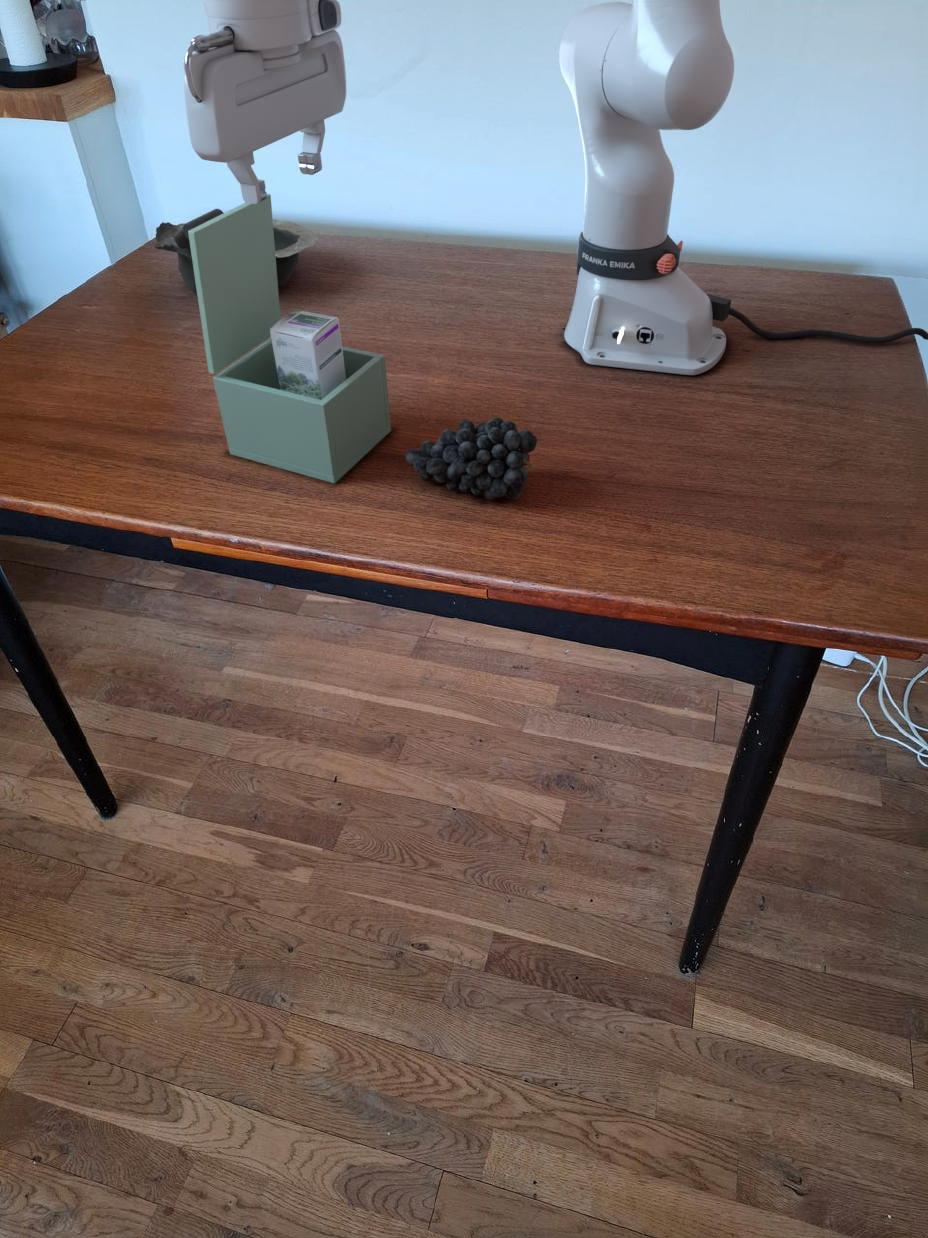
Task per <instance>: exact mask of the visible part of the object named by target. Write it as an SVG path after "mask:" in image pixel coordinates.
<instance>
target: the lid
mask: <svg viewBox="0 0 928 1238" xmlns="http://www.w3.org/2000/svg"><path fill="white" fill-rule="evenodd" d="M272 207H273V205H272V195H271V193H267V197H266V199H265V200H263V201H261V202H259V203H257V204H251V203H246V202H244V203H242V204H240V205H237V206H236V207H234V208H232V209H229V210H228V211H226V212H224V211H223V210H221V209H220V208H214V209H212V210H210V211H208V212H205V213H204V214H202V215H200V216H198V217H195V218H194V219H191V220H190V221H187V222H185V223H184V224H183V225H184V226H183V225H182V226H183V232H184V235H185V236H186V237H187V239H189V241H190V248H191V254H192V261H193V268H194V275H195V282H196V289H197V293H196V296H197V302H198V309H199V315H200V321H201V328H202V336H203V342H204V343H203V344H204V350H205V357H206V364H207V370H208V374H211V375H217V374H218V373H220V372H221V371H223V370H224V369H226V368H227V367H229V366H230V365H232V364H233V362H234V363H235V362H236V361H237V360H239V358H242V357H243V356H245V355H246V354H248V353H249V352H251V351H252V350H254V349H255V348H257V347H258V346H260V345H261V344H263V343H264V342H265V341H267V340H268V339H270V338H271V335H270V328H272V327H273V326H274V325H275V324H276V323H277V322H278V321H279V320H281V309H280V297H279V295H280V294H279V287H278V282H277V269H276V256H275V244H274V231H273V219H274V218H273V208H272Z"/></svg>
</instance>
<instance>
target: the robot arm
mask: <svg viewBox="0 0 928 1238" xmlns="http://www.w3.org/2000/svg"><path fill="white" fill-rule="evenodd" d="M720 2H721V1H720V0H632V3H628V2H625V1H610V2H603V3H598V4H594V5H590V6H588V7H585V8H583V9H581V10H580V11H579V12H578V13H576V14H575V15H574V17H573V18H571V20H570V22H569V23H568V24H567V26H566V28H565V30H564V32H563V35H562V38H561V41H560V44H559V45H560V46H559V52H558V53H559V54H558V59H559V68H560V71H561V75H562V77H563V79H564V81H565V83H566V85H567V87H568V89H569V91H570V94H571V96H572V99H573V103H574V106H575V111H576V115H577V120H578V125H579V132H580V137H581V143H582V151H583V158H584V170H585V171H584V172H585V182H584V184H585V185H584V187H585V188H584V204H583V222H582V230H581V232H580V233H579V237H578V244H577V250H576V275H577V282H576V289H575V293H574V299H573V304H572V308H571V311H570V314H569V318H568V321H567V324H566V327H565V329H564V332H563V337H564V341H565V342H566V343H567V345H569V347H571V348H572V349H574V350H575V351H576V352H578V353H579V354H580V355H581V357H582V360H583V361H584V362H585V363H586V364H589V365H592V366H601V367H611V368H618V369H619V368H620V369H627V370H628V369H629V370H637V371H646V372H647V371H648V372H656V373H665V374H674V375H683V376H684V375H685V376H697V375H700V374H703V373H705V372H708V371H709V370H710V369H712V368H713V367H715V366H716V365H717V364H718V363H719V361H720V360H721V358H722V357H723V356H724V354H725V350H726V345H727V336H726V333H725V332H724V331H723V330H722V329H721V328H719V327H715V326H713V325H714V323H713V321H717V322H721V323H724V321H725V320H726V319H728V318H729V316H732V317H733V318H735V319H737V320H738V321H739V322H741V323H743V325H745V327H747V329H749V330H750V331H751V332H752V333H753V334H755V335H756V336H759V337H762V338H766V339H770V340H789V339H796V338H805V337H822V338H832V339H838V340H844V341H848V342H849V341H850V342H855V343H861V344H862V343H864V344H886V343H887V344H888V343H890V342H891V343H892V342H894V341H898V340H900V339H903V338H905V337H908V336H911V335H917V336H920V337H921V338H922V339H923V340H926V341H928V332H927V331H926V330H925V329H923V328H920V327H912V328H908V329H904V330H901V331H898V332H896V333H893V334H890V335H885V336H866V335H865V336H864V335H857V334H851V333H845V332H840V331H833V330H825V329H804V330H803V329H802V330H796V331H789V332H772V331H767V330H764V329H762V328H760V327H758V326H757V325H756V324H755V323H754V322H753V321H752V320H751V319H749V318H748V317H747V315H745V314H744V313H742V312H740V311H739V310H736V309H734V308H733V307H731V305H732V299H731V298H726V297H722V296H717V295H713V294H709V293H706V292H704V290H702V289H701V288H700V287H699V286H698V285H697V283H695V282H694V281H693V280H692V279H691V278H690V277H689V276H688V275H687V274H686V273H684V271H683V270H682V269H681V268H680V267H679V263H680V259H681V258H680V256H681V252H682V251H683V243H684V240H680V241H679V242H678V244H677V243H676V242H675V241H674V240H673V239H672V238H671V236H670V235H669V234H668V232H669V225H670V217H671V208H672V200H673V193H674V186H675V171H674V166H673V164H672V161H671V159H670V158H669V156H668V154H667V152H666V150H665V147H664V144H663V140H662V136H661V131H694V130H697V129H700V128H702V127H704V126H705V125H706V124H708V123H709V122H711V121H712V120H713V119H714V118H715V117H716V116H717V114H718V113H720V111H721V109H722V107H723V106H724V105H725V103H726V101H727V99H728V96H729V94H730V92H731V89H732V85H733V81H734V75H735V58H734V54H733V50H732V47H731V45H730V43H729V41H728V39H727V36H726V34H725V31H724V27H723V22H722V17H721V14H722V13H721V4H720ZM203 5H204V10H205V14H206V20H207V25H208V32H209V33H207V34H198V35H196V36H194V37H193V38H192V39H191V40H190V45H189V47H188V49H187V51H186V55H185V56H184V57H183V70H184V74H183V93H184V94H183V95H184V104H185V111H186V119H187V127H188V133H189V139H190V145H191V148H192V149H193V151H194V152H195V153H196V155H197V156H198V157H199V159H201V160H204V161H208V162H209V161H210V162H215V163H225V164H226V166H227V168H228V169H229V171H230V172H231V173H232V175H233V176H234V178H235V180H236V181H237V182H238V183H239V186H240V191H241V196H242V200H243V202H244V203H251V204H257V203H259V202H261V201H263V200H265V199H266V197H267V194H268V193H267V191H266V182H265V180H264V179H259V178H258V176H257V175H256V172H255V171H254V169H253V168H252V167H253V165H255V162H256V161H255V157H254V156H255V155H254V152H256V151H258V150H260V149H263V148H265V147H267V146H269V145H272V144H273V143H276V142H278V141H280V140H282V139H284V138H287V137H289V136H291V135H293V134H296V133H298V132H301V133H303V134H302V147H301V152H300V153H298V154H297V161H298V163H299V166H298V167H299V168H298V169H299V171H300V173H301V174H303V175H309V176H314V175H315V174H317V173H320V172H321V171H322V170H323V164H322V154H321V153H322V149H323V144H324V139H325V134H326V125H325V120H327V119H329V118H332V117H333V116H336V115H338V114H340V113H342V112H343V111H344V108H345V105H346V101H347V97H348V86H347V85H348V84H347V72H346V70H347V69H346V62H345V54H344V53H345V52H344V46H343V41H342V38H341V35H340V33H339V32H338V31H337V29H339V28H340V27H341V24H342V9H341V4H340V2H339V1H338V0H203ZM660 130H661V131H660Z"/></svg>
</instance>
